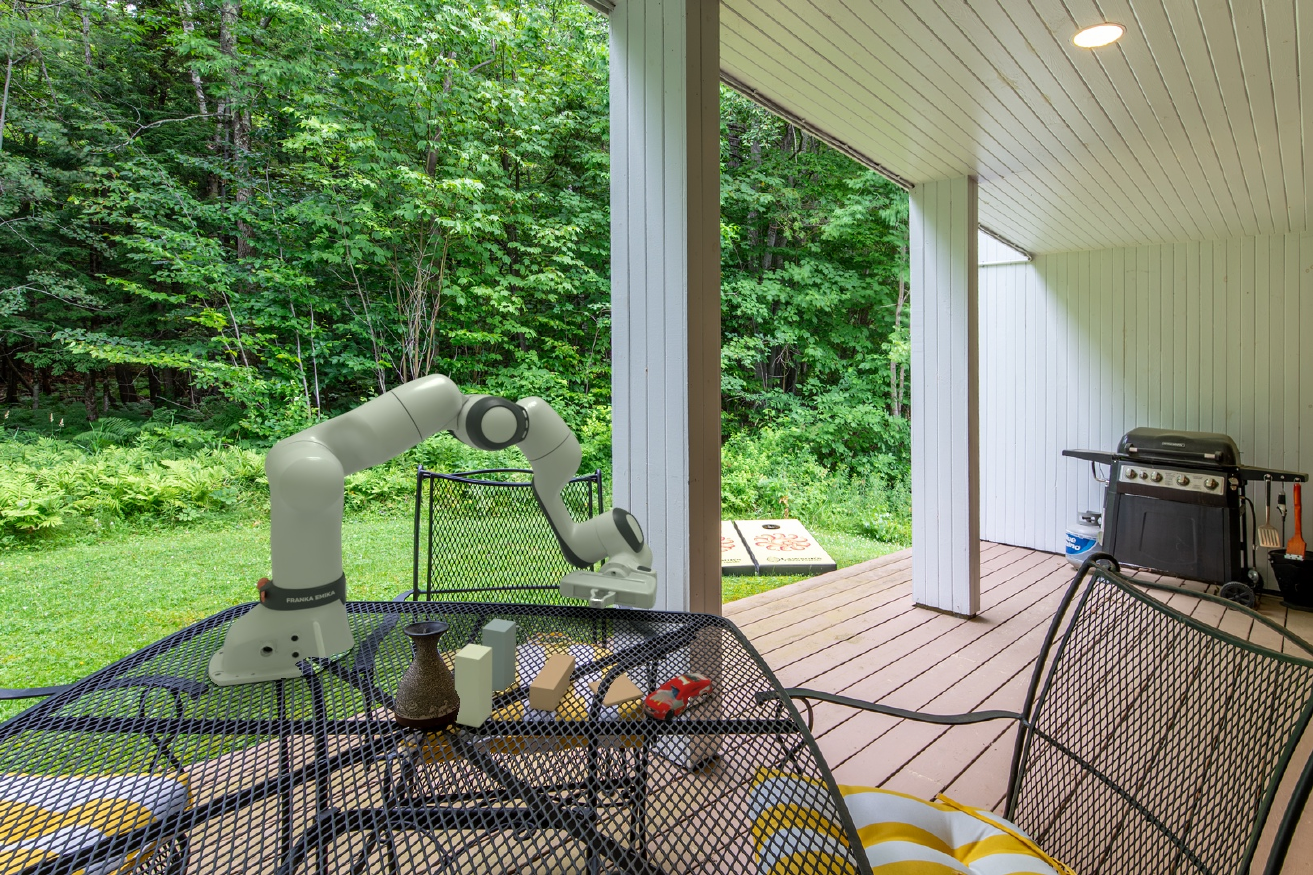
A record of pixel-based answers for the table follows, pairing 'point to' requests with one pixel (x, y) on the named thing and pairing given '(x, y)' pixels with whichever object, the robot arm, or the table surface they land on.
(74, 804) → the table surface
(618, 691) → the tile
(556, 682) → the tan rectangular block
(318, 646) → the robot arm
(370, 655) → the table surface
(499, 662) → the slate post
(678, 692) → the race car
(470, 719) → the cream post
